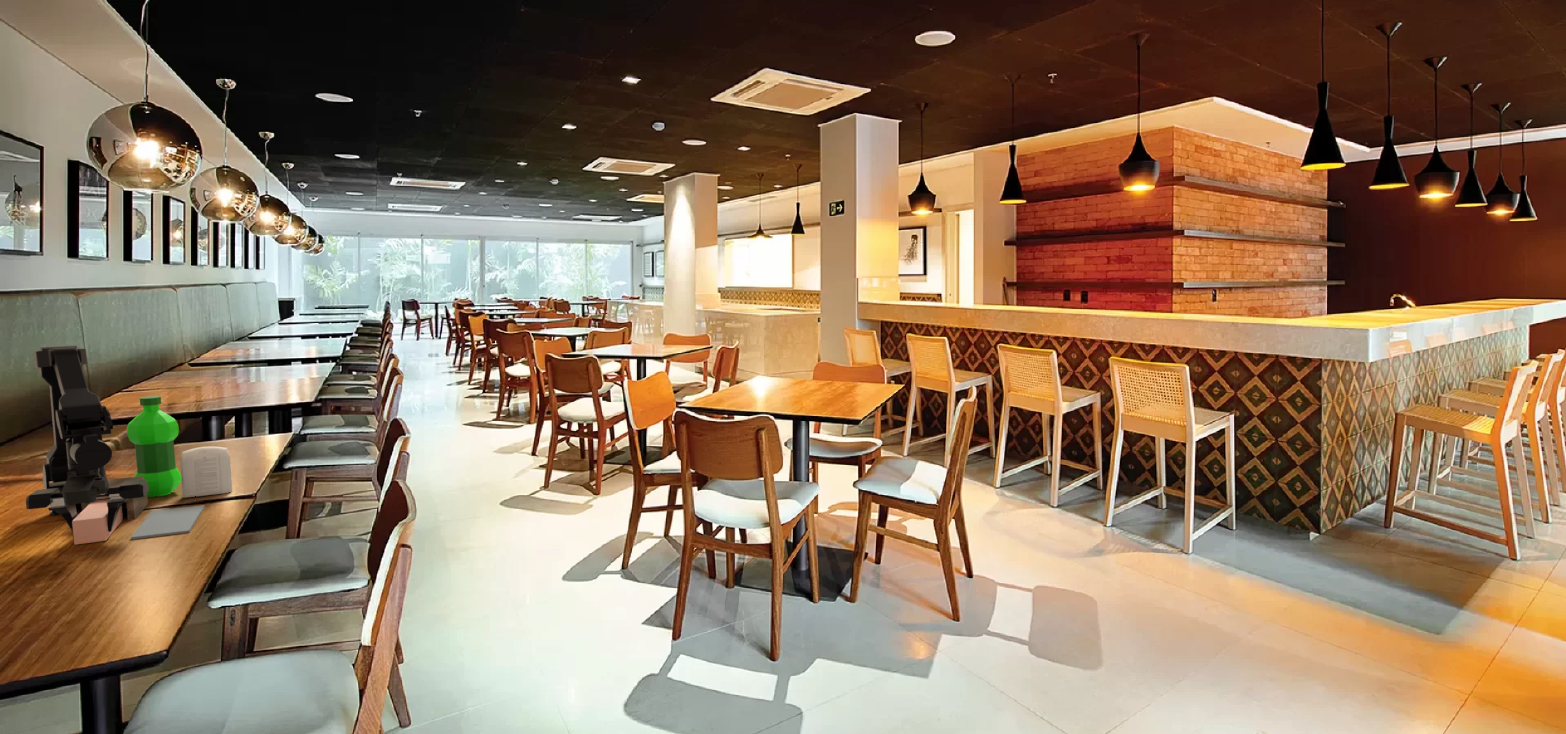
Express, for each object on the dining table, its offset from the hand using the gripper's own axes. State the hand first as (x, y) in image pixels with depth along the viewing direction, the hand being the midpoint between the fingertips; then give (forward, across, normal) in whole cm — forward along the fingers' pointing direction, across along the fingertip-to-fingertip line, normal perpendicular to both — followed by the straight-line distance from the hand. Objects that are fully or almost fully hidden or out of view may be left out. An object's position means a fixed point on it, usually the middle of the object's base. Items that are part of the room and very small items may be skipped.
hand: (93, 533), depth 165 cm
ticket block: (+1, 0, +5) cm, 5 cm away
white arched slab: (+1, +16, +30) cm, 34 cm away
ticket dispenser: (+1, 0, +19) cm, 19 cm away
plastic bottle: (+1, +5, +36) cm, 36 cm away
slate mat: (+1, +12, +6) cm, 13 cm away
